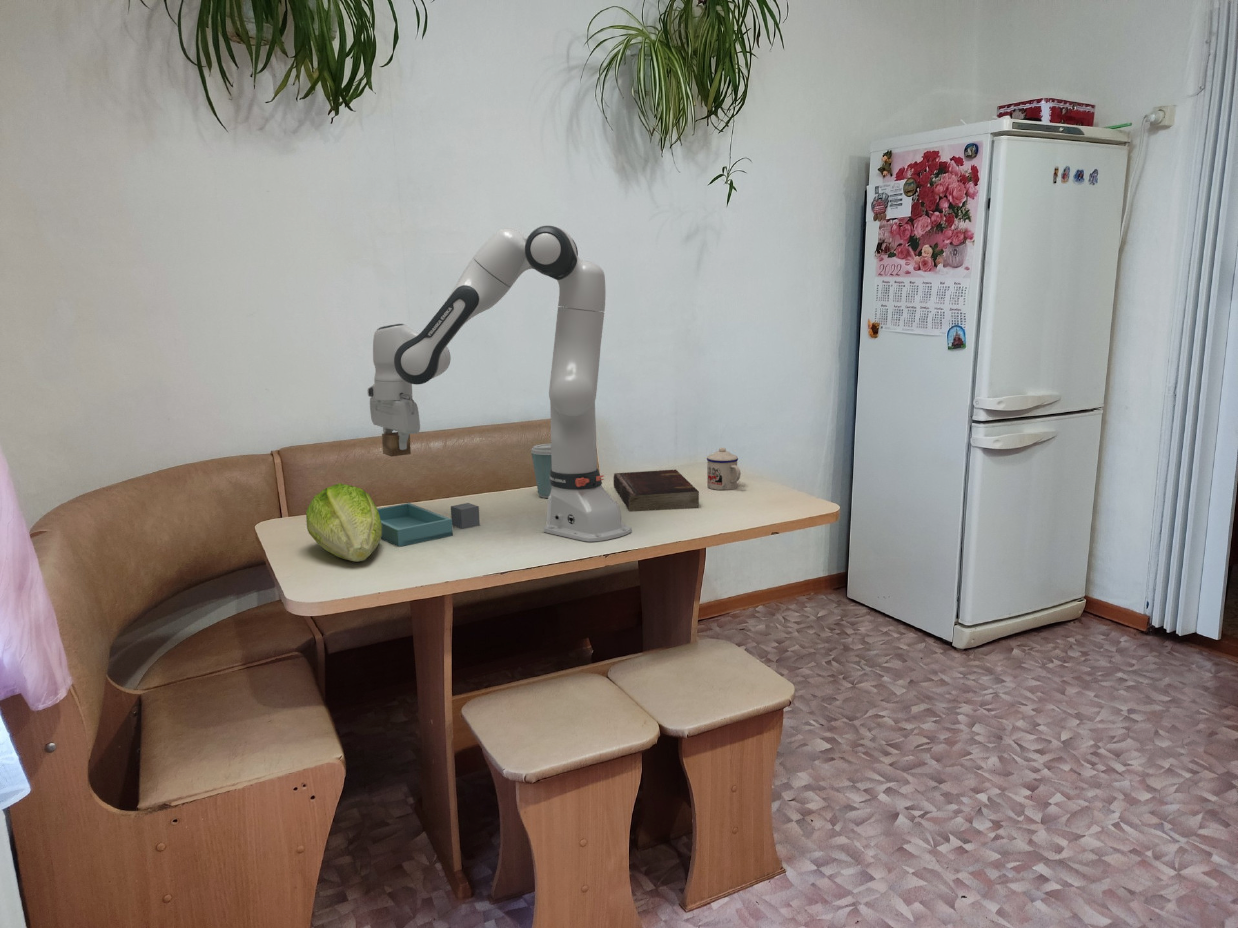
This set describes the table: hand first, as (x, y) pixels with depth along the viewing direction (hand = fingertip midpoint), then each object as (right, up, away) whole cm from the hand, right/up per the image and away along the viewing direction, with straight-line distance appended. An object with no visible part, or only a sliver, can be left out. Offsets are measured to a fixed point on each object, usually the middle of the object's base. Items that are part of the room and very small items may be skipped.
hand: (396, 447), depth 214 cm
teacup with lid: (+86, -11, +39) cm, 95 cm away
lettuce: (-6, -24, -19) cm, 32 cm away
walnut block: (0, -2, 0) cm, 2 cm away
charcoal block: (+17, -20, +3) cm, 26 cm away
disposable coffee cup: (+36, -13, +32) cm, 50 cm away
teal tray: (+3, -21, -2) cm, 21 cm away
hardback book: (+65, -14, +29) cm, 72 cm away
